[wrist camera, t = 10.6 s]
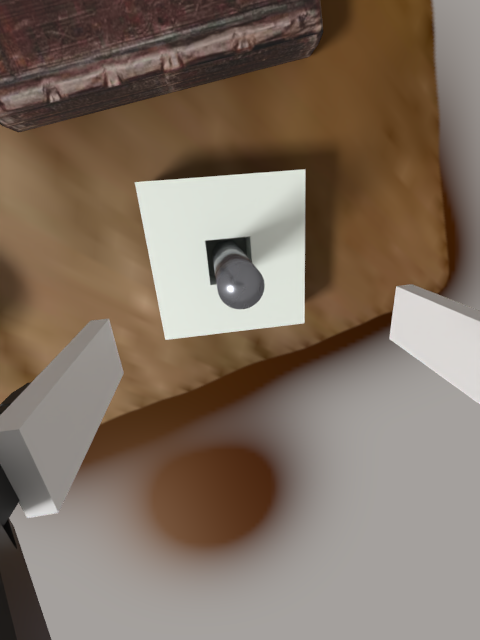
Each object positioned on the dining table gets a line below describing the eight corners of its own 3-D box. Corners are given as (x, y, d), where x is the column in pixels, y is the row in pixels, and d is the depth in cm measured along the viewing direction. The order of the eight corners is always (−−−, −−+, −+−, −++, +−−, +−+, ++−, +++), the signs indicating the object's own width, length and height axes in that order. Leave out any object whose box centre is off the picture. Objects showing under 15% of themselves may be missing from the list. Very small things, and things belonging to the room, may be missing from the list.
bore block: (145, 185, 31) (134, 182, 26) (290, 174, 32) (305, 169, 28) (170, 322, 37) (165, 339, 32) (292, 308, 38) (304, 323, 34)
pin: (210, 242, 33) (214, 265, 20) (240, 239, 33) (263, 260, 20) (213, 271, 34) (219, 311, 21) (242, 268, 34) (265, 306, 21)
